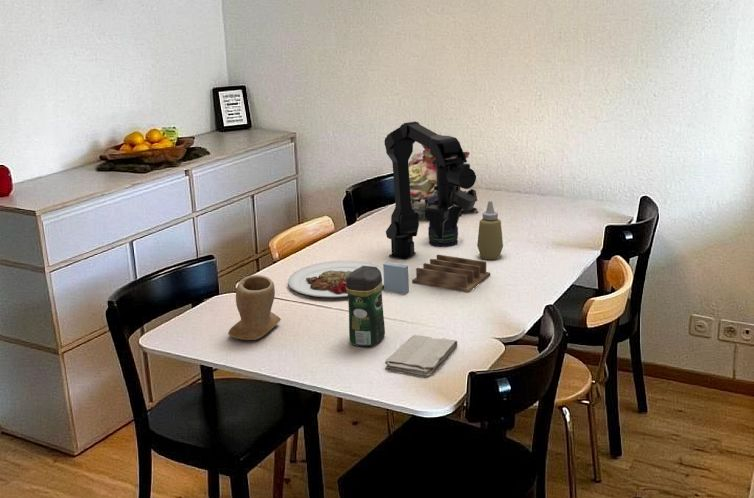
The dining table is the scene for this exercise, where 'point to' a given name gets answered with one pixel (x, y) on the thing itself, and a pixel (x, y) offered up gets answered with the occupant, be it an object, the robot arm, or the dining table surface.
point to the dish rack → (452, 273)
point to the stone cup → (254, 308)
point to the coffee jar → (365, 306)
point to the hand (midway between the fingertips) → (447, 234)
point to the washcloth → (421, 355)
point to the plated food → (326, 278)
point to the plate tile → (396, 278)
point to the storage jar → (448, 234)
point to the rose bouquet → (424, 180)
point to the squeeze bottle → (490, 234)
